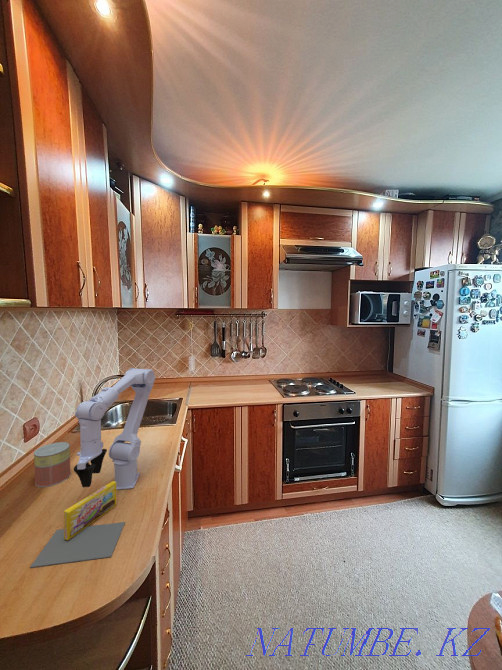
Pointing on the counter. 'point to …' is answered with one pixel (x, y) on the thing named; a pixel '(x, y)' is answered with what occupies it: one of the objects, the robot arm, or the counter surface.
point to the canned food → (52, 464)
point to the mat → (80, 545)
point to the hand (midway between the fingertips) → (91, 479)
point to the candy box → (89, 510)
